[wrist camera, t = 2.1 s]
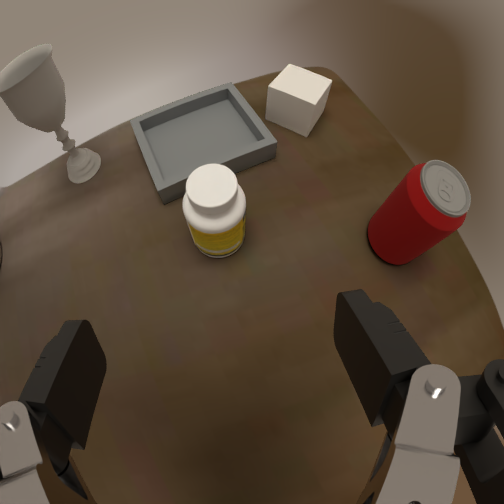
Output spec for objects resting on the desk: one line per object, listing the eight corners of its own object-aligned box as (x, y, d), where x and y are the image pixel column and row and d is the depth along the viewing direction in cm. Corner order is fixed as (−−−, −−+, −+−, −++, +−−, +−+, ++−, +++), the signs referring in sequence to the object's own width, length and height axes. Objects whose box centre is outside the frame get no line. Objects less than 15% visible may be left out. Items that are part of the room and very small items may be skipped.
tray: (164, 204, 33) (157, 191, 30) (135, 135, 36) (129, 120, 33) (274, 157, 35) (277, 141, 32) (231, 97, 39) (231, 82, 36)
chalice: (61, 197, 33) (-17, 106, 16) (61, 158, 35) (-2, 68, 18) (111, 176, 34) (47, 66, 17) (106, 138, 36) (56, 35, 19)
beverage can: (421, 231, 33) (479, 181, 22) (405, 278, 31) (470, 238, 20) (376, 202, 34) (423, 140, 23) (355, 247, 32) (406, 192, 21)
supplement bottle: (253, 247, 32) (257, 202, 22) (203, 266, 31) (187, 227, 21) (234, 204, 33) (231, 148, 24) (186, 221, 32) (167, 169, 23)
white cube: (306, 137, 37) (315, 105, 31) (265, 119, 38) (268, 86, 32) (323, 111, 39) (332, 80, 33) (284, 95, 39) (289, 63, 34)
